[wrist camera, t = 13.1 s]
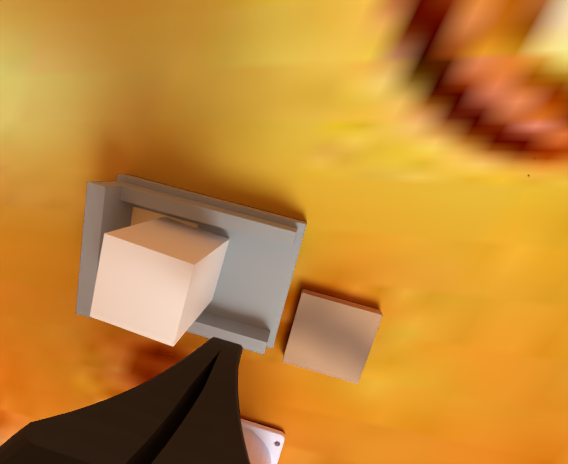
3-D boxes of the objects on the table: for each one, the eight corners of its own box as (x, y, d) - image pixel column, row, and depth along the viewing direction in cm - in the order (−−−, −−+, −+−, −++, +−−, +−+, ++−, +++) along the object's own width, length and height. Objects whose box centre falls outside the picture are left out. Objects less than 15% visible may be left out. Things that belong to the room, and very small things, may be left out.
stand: (356, 376, 22) (357, 384, 22) (283, 355, 23) (282, 361, 22) (380, 310, 21) (382, 315, 20) (302, 288, 21) (301, 292, 21)
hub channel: (274, 341, 23) (265, 376, 19) (111, 293, 23) (71, 317, 19) (306, 222, 20) (304, 233, 16) (126, 174, 21) (83, 174, 17)
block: (229, 238, 20) (194, 264, 14) (212, 299, 21) (173, 346, 15) (164, 216, 20) (104, 233, 15) (151, 277, 22) (89, 316, 16)
